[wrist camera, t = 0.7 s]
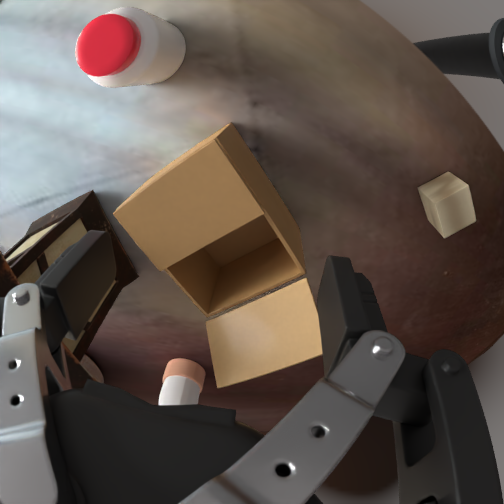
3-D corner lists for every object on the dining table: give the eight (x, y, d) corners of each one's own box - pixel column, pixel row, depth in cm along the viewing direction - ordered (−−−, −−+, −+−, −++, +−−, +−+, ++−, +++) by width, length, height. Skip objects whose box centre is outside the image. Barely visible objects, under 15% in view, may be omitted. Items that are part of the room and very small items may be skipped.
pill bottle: (197, 64, 28) (162, 57, 19) (136, 96, 30) (84, 107, 20) (169, 8, 24) (127, -16, 15) (111, 43, 26) (54, 38, 17)
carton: (299, 228, 37) (307, 278, 28) (219, 269, 41) (205, 323, 32) (231, 122, 31) (214, 138, 22) (149, 178, 35) (111, 213, 26)
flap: (305, 277, 28) (307, 278, 29) (205, 321, 32) (207, 322, 33) (329, 350, 25) (331, 351, 25) (217, 388, 28) (219, 388, 29)
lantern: (78, 113, 31) (-141, 226, 5) (160, 283, 43) (77, 484, 17) (1, 172, 35) (-140, 281, 9) (75, 303, 47) (-8, 447, 21)
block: (448, 171, 32) (468, 184, 27) (457, 204, 34) (476, 221, 29) (416, 187, 33) (434, 203, 29) (427, 220, 35) (444, 239, 31)
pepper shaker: (206, 384, 55) (188, 474, 39) (169, 378, 55) (144, 465, 39) (205, 361, 51) (184, 460, 35) (164, 355, 51) (134, 450, 35)
